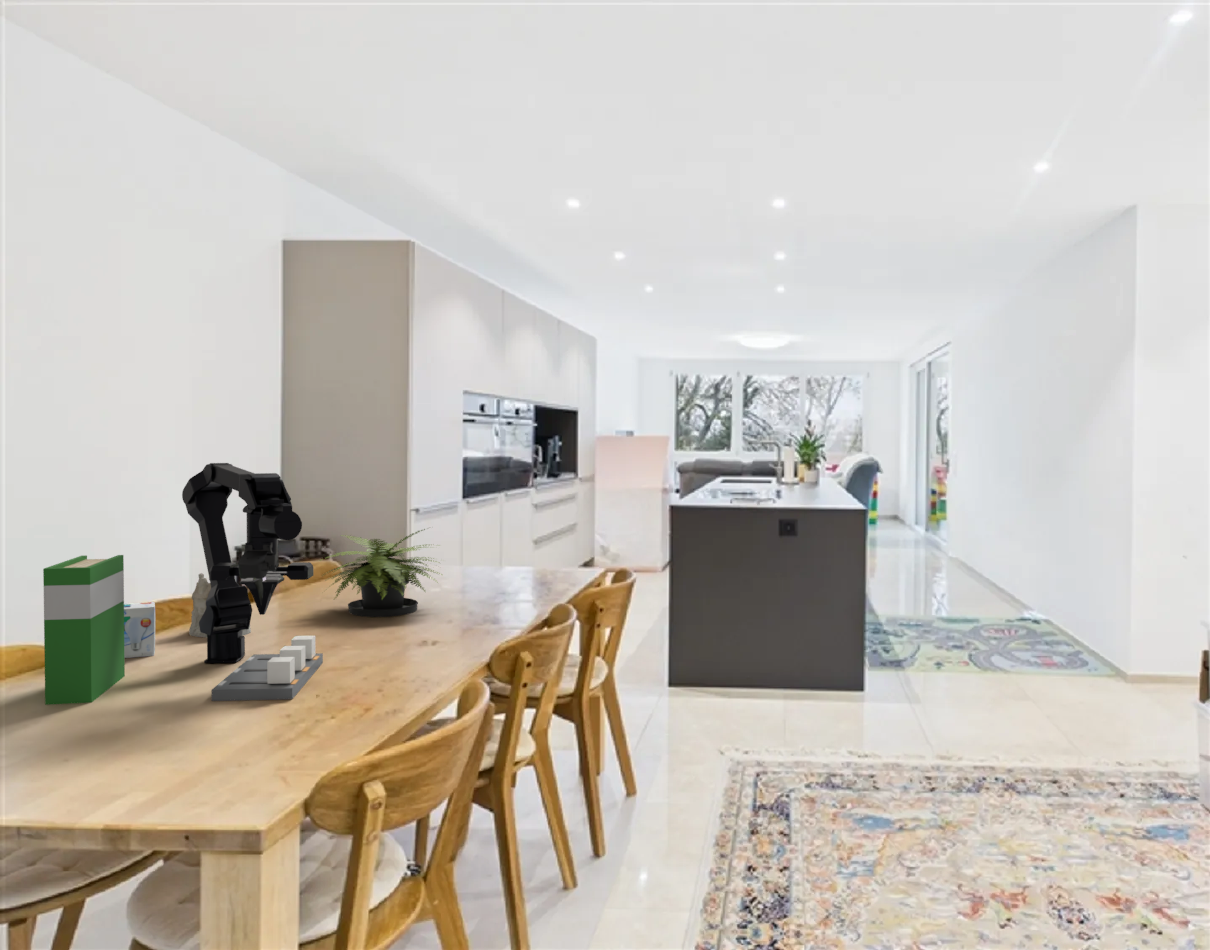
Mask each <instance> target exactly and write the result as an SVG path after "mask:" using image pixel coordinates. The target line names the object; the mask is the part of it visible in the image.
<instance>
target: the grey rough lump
mask: <svg viewBox="0 0 1210 950" xmlns="http://www.w3.org/2000/svg"><path fill="white" fill-rule="evenodd" d="M210 590H211V584H210V582H208V578H207V577H205V574H204V572H201V573H199V574H198V582H196V586H195V588H194V591H193V593H191V600H192V605H193V607H192V609H193V610H192V611H191V612H190V614H191V622H190V623H191V624H190V626H189V631H188V634H189V635H190V636H192V637H199V638H206V639H207V634H204V633H201V632H200V627H199V621H200V619H201V617H202V616H203V614H204V612H205V610H206V599H207V597H208V595H209V592H210ZM251 632H252V629H251V624H250V625H249V629H244V630H242V636H244V637H245V636H246V635H249V634H251Z"/></svg>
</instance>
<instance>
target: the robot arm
mask: <svg viewBox="0 0 1210 950" xmlns="http://www.w3.org/2000/svg"><path fill="white" fill-rule="evenodd" d="M233 490H234V491H236V492H237V493H238V497H239V498H240V499H242V501H244V502H245V503H246V504H245V506H244V507H243V509H242V513H246V542H245V546H244V552H243V554H242V555H241V557H240V558H239V560H238V561H237V562H232V559H231V553H230V550H229V549H230V548H229V544H228V543H229V542H228V538H227V534H226V530H225V525H224V520H223V517H224V514H225V513H226V510H227V508H228V505H229V504H228V498H229V497H230V496H231V494H232V493H233ZM181 496H182V498H181V499H182V501H183V503H184V505H185V508H186V510H187V514H188V515H189V516H190V518H192V519H193V520H194V521H195V522H196V523H197V524H198V529H199V533H200V538H201V542H202V549H203V552H204V557H205V563H206V568H207V573H208V580H209V583H210V584H211V590H210V592H209V595H208V597H207V599H206V610H205V612H204V614H203V616H202V617H201V619H200V621H199V627H200V632H201V633H204V634H207V638H206V651H207V652H206V653H207V654H206V655H207V656H206V657H207V658H206V659H205V660H203V661H204V664H216V663H217V664H218V663H219V664H222V663H225V664H226V663H227V664H228V663H229V664H230V663H237V662H239V661H240V660H241V659H242V658H243V657H245V656H246V655H245V654H246V653H245V652H246V650H245V649H246V647H245V646H246V641H245V639H246V638H245V635H244V636H242V630H244V629H249V625H250V626H251V618H252V614H253V608H252V607H253V606H252V603H251V600H250V598H249V592H248V591H250V593H251V595H252V598H253V601H254V603H255V606H256V608H257V611H258V614H259V615H260V616H261V615H262V616H263V615H265V614H266V613H267V610H268V607H269V605H270V602H271V599H272V596H273V593H275V591H276V589H277V586H278V584H280V583H282V582H284V581H285V577H287V578H288V579H289V580H291V581H305V580H309V579H311V578H312V577H314V564H312V562H310V561H309V562H307V561H306V562H305V561H302V562H299V561H297V562H291V563H290V564H288V565H287V566H284V565H283V566H281V565H280V566H279V557H278V554H279V553H278V548H279V547H278V546H279V540H280V541H281V540H283V541H291V540H294V539H296V538H297V537H298V536H299V534H300V533H301V531H302V528H303V521H302V520H301V517H300V516H299V514H297V512H295V511H293V505H292V502H291V500H292V499H291V496H290V494H289V492H288V491H287V488H286V486H285V483H284V481H283V479H281V476H280V474H278V473H276V472H272V473H269V472H268V473H267V472H266V473H260V472H259V473H254V472H252V471H249V470H246V469H243V468H241V467H240V468H239V467H237V466H234V465H233V464H232V463H229V462H210V463H208V464H206V465H205V466H204V468H203V469H202V470H201V471H200V472H198V473H196V474H195V475H193V476H192V477H190V478H189V479H188V481H187V482H186V484H185V486H184V487H183V489H182V494H181ZM284 576H285V577H284ZM236 577H239V579H240V581H239V583H238V582H237V581H236ZM264 578H265V580H264Z"/></svg>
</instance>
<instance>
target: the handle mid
mask: <svg viewBox="0 0 1210 950" xmlns="http://www.w3.org/2000/svg"><path fill="white" fill-rule="evenodd" d="M279 654H280V657H295V671H297V670H302V669H303V668H304V667H305V646H291V645H284V646H283V647H282V648H280V650H279Z"/></svg>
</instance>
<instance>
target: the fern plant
mask: <svg viewBox="0 0 1210 950" xmlns="http://www.w3.org/2000/svg"><path fill="white" fill-rule="evenodd" d="M430 528H431V529H432V527H429V529H430ZM425 530H427V528H424V529H421V530H417V531H415V532H414V533H413V532H412V533H411V534H409V535H406V536H405V537H403V538H402V539H400V540H399V541H398V542H395V543H391V542H390V543H388V542H385V540H381V539H380V538H370V539H369V538H362V537H361V536H355V535H352V536H351V535H342V534H341V535H340V537H341V536H342V537H345V538H347V539H349V540H350V541H354V543H356V544H359V545H360V546H361V547H363V546H365V547H366V548H367V549H366V551H361V550H358V551H356V550H354V551H348V550H347V551H341V552H339V551H338V552H335V554H332V555H329V556H326V559H329V558H335V557H339V556H340V555H341V557H342V556H346V555H348V556H349V555H357V554H359V555H363V556H361V558H356V560H355V561H349V562H348V563H345V564H341V566H338V567H336V568H333V569H330V570H328V571H326V572H324V573H322V576H325V575H327V574H329V573H331V572H332V574H333V573H335V572H338V571H339V569H342V568H347V567H350V569H348V570H343V571H341V572H340V571H339V573H337V574H335V575H334V576H330V577H327V579H326V581H328V580H333V579H334V578H336V579H335V580H334V582H332V584H331V585H334V584H336V583H338V582H340V581H341V580H342V581H341V583H339V584H340V585H338V588H337V590H335V597H334V599H337V598H338V597H339V595H340V593H341V592H343V591H344V589H346V588H348V586H350V584H352V588H351V590H352V591H353V590H354V589H356V590H357V593H356V595H358V594H359V593H361V599H357V600H352V601H350V602H349V603H348V604H347V605H348V606H347V607H348V613H349V614H350V615H353V616H358V617H367V618H387V617H388V618H389V617H398V616H399V617H400V616H404V615H409V614H412V613H415V612H416V611H417V610H418V604H419V602H418V601H417V600H415V599H413V598H410V597H409V598H407V597H405V592H406V591H405V589H406V588H407V585H408V584H409V583H410V584H411V585H412V586H413V585H415V586H414V587H417V588H419V589H420V590H422V591H423V592H424V593H426V589H425V587H423V585H422V583H421V580H420V579H419V577H417V574H418V575H422V577H426V578H428V579H429V580H430V579H431V580H433V581H435V582H436V583H437V584H439V583H438V580H437V579H436V578H433V576H432V577H431V575H430V574H429V572H431V573H433V574H437V575H439V572H438V571H436V570H434V569H432V568H430V567H424V566H428V563H426V562H427V561H428V562H433V559H434V563H438V564H441V563H440V562H439V561H437V558H435V557H430V556H427V557H425V556H421V557H419V556H414V557H413V556H412V557H409V558H407V557H406V555H405V554H406V552H407V553H408V552H414V551H415V552H416V551H417V552H418V551H420V549H422V548H423V549H424V548H426V549H427V547H428V548H431V546H432V548H437V546H436V547H434V546H433V544H426V543H425V544H419V545H418V546H416V545H414V546H411V547H410V546H409V547H406V548H405V547H401V548H400V547H398V545H400V544H401V543H402V542H404V541H405V540H408V539H410V537H413V536H414V535H416V534H418V533H419V534H420V533H421V532H422V531H423V532H424V531H425ZM438 546H442V545H441V544H438ZM397 547H398V549H395V548H397ZM323 556H325V554H324V555H322V557H323ZM394 557H395V558H394ZM396 557H397V558H396ZM398 557H399V558H398ZM321 561H322V559H320V560H318V562H321ZM362 561H365V562H362ZM442 561H443V562H445V560H444V559H442ZM416 564H421V565H422V566H421V565H416ZM435 566H436V567H437V566H438V565H437V564H436V565H435ZM438 567H439V568H440V566H438ZM440 575H441V576H443V574H442V573H440ZM349 583H350V584H349ZM329 588H330V586H328V587H327V588H326V589H325V591H327V590H328V589H329ZM323 593H324V591H323V592H322V594H323Z"/></svg>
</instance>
